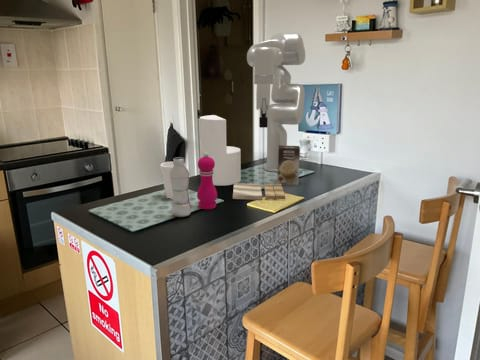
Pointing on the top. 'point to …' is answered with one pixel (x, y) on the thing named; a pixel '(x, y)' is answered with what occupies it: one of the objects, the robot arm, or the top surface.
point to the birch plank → (247, 191)
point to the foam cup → (167, 178)
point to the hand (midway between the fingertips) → (263, 127)
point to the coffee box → (288, 165)
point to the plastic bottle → (180, 188)
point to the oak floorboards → (274, 191)
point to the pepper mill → (206, 183)
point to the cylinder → (220, 150)
